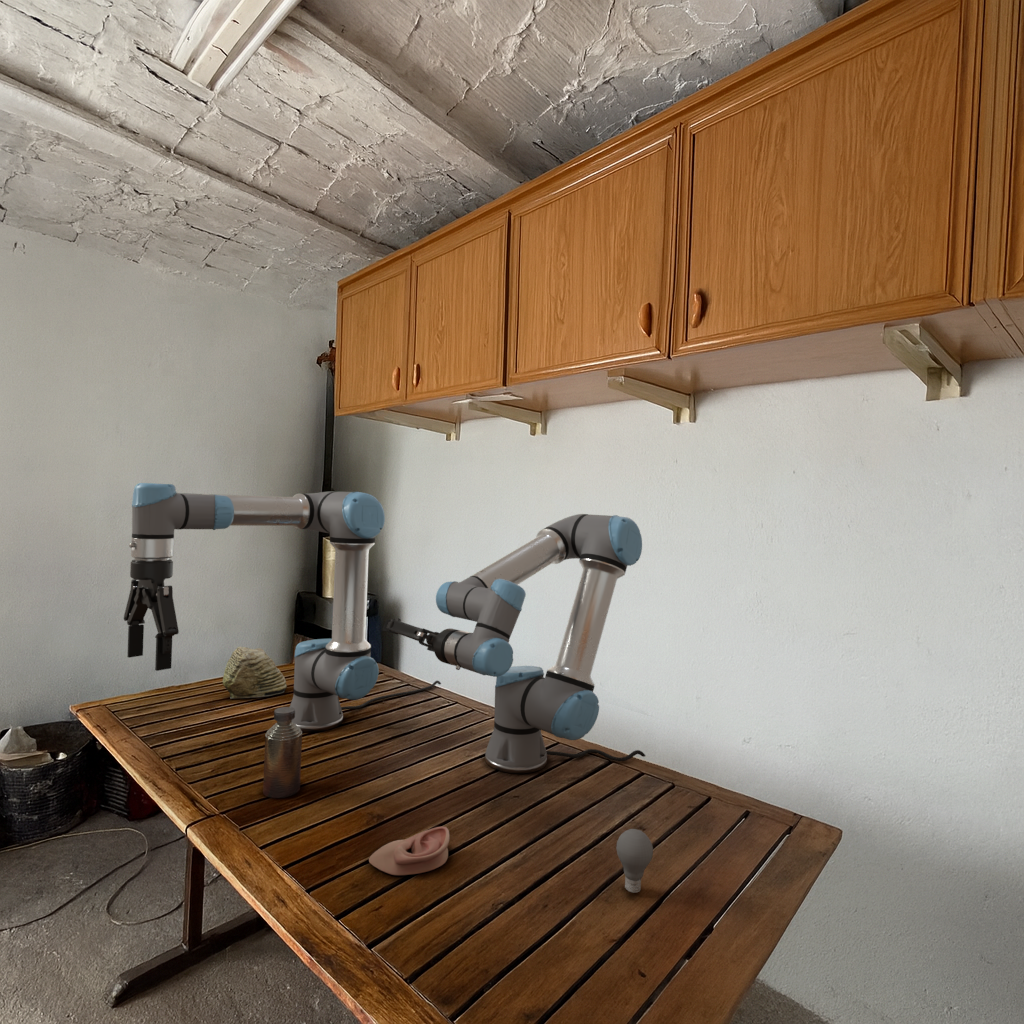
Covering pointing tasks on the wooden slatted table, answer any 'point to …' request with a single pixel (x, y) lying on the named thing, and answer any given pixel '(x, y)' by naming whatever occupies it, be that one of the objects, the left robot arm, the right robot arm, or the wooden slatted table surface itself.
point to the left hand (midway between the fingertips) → (148, 662)
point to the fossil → (252, 674)
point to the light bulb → (634, 857)
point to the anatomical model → (413, 853)
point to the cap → (284, 714)
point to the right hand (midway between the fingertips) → (408, 635)
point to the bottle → (282, 760)
